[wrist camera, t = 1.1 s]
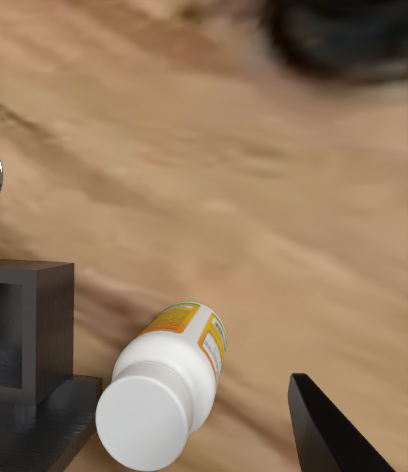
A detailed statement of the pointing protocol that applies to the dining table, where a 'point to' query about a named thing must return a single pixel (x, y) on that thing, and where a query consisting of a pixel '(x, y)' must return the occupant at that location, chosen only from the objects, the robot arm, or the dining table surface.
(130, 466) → the supplement bottle
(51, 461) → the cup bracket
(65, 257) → the dining table surface
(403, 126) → the dining table surface
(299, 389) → the robot arm
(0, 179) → the wine glass
